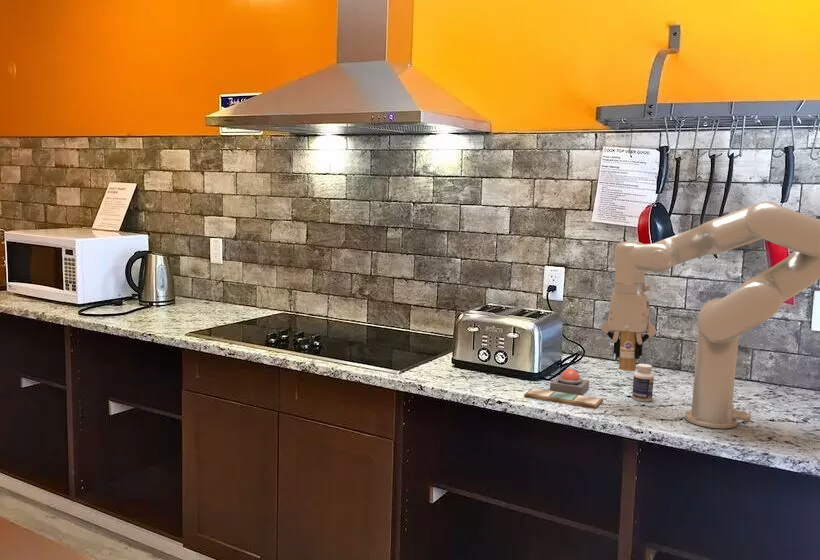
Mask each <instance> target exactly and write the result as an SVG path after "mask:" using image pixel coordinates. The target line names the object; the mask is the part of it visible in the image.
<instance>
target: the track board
mask: <svg viewBox="0 0 820 560" xmlns="http://www.w3.org/2000/svg"><path fill="white" fill-rule="evenodd" d="M523 396H524V397H523V398H527V399H531V400H538V399H540V400H539V401H544V400H546V401H545V402H550V401H552V402H551V403H556V402H558V403H557V404H562V403H564V405H569V404H570V406H575V405H576V407H581V406H582V407H583V408H587V409H593V408H594V410H597V409H598V408H599V407H600V405H601V404H602V403H603V402H604V399H603V398H601V397H594V396H588V395H576V394H570V393H563V392H557V391H550V389H542V388H537V387H532V388H530V390H528V391H527V392H526V393H524V394H523ZM596 408H597V409H596Z"/></svg>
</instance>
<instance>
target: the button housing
mask: <svg viewBox="0 0 820 560" xmlns="http://www.w3.org/2000/svg"><path fill="white" fill-rule="evenodd" d="M559 376H560V375H558V376H557V377H555V378H554V379H553V380H552V381H551V382H549V390H550V391H557V392H563V393H570V394H576V395H582V396H584V394H585V393H587V392H588V390H589V389H590V380H589V379H583V378H582V382H581V383H578V384H577V385H571V384H564V383H562V382H560V381H558V377H559Z"/></svg>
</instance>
